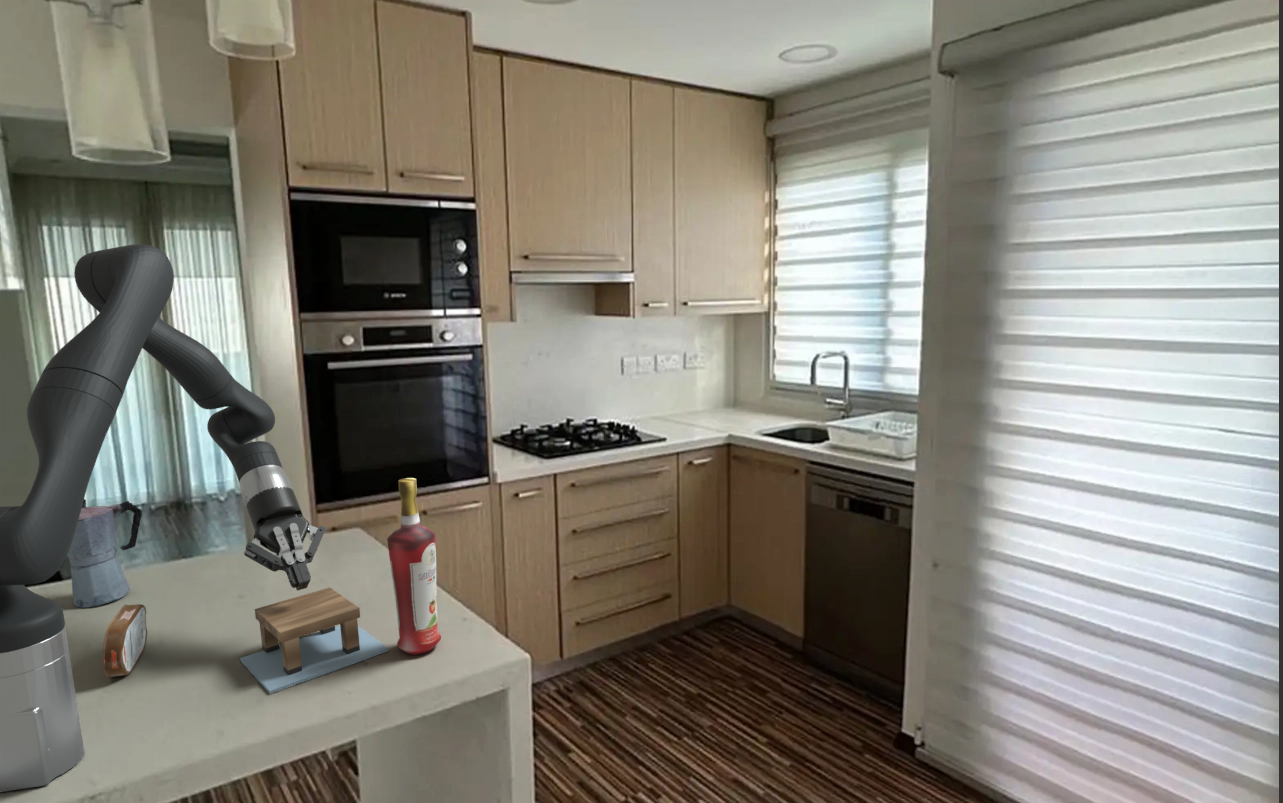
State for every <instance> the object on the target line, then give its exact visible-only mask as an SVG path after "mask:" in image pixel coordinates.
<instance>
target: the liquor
mask: <svg viewBox="0 0 1283 803" xmlns="http://www.w3.org/2000/svg"><path fill="white" fill-rule="evenodd" d="M417 486H418V485H417V478H414V477H406V478H401V479H399V480H398V492H399V496H400V501H401V504H400V528H398V529H396V530H394V531H393V532H392V533H391V534H389V535H388V537H387V539H386V540H387V549H388V556H389V564H390V566H389V567H390V572H391V578H392V586H393V592H394V600H395V609H396V616H397V617H396V618H397V624H398V635H399V638H398V640H397V642H396V645H397V647H398V648H399V649H400V650H402V651H403V652H405V653H407V654H408V655H410V656H411V655H415V656H417V655H423V654H426V653H429V652H430V651H432V650H433V649H434V648H435V647H436V646H437V645H438V644H439V643H440V641H442V635H441V634H440V632H439V628H438V604H437V603H438V602H437V600H438V599H437V597H438V596H437V550H436V548H437V546H436V544H437V542H436V537H437V536H436V532H435V531H434V530H433V529H431V528H429V527H428V526H424V525H421V520H420V516H419V515H420V514H419V509H418V504H417V492H418V491H417V490H418V488H417Z"/></svg>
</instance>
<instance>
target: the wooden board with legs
mask: <svg viewBox="0 0 1283 803" xmlns="http://www.w3.org/2000/svg"><path fill="white" fill-rule="evenodd" d="M254 617H255V619H256V621H257V622H259V629H260V630H259V631H260V637H261V638H260V639H261V648H262V651H265V652H266V653H269V652H272V651H275V650H278V649H280V647H279V645H281V649H282V658H283V668H284V671H285V673H286V674H287V675H291V674H294V673H297V672H300V671H302V664H301V654H300V645H299V639H300V638H302V637H305V636H308V635H312V634H315V633H318V632H321V633H322V634H326V633H329V632H332V631H335V627H336V626H340V628H341V639H342V650H343V651H344V652H345V653H346V654H350V653H353V652H356V651H359V650H360V645H359V633H358V626H359V625H358V624H359V622H358V619H360V618H361V609H360V607H359V606H358V605H356V604H355V603H353V602H352V601H351V600H349V599H347V598H346V597H344V596H343V595H342V594H341V593H339V592H337V591H336V590H335V589H334V588H332V587H326V588H323V589H320V590H316V591H313V592H309V593H306V594H301V595H299V596H296V597H295V596H294V597H292V598H289V599H286V600H281V601H278V602H275V603H272V604H268V605H264V606H261V607H258V608H254Z"/></svg>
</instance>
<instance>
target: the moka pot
mask: <svg viewBox="0 0 1283 803" xmlns="http://www.w3.org/2000/svg"><path fill="white" fill-rule="evenodd" d="M127 511H131V512H133V516H132V523H131V532H130V535H131V536H130V538H129V541H128V543H127V544H123V545H121V546H120V547H119V548H120V549H121V551H126V550H129V549H133V548H135V547H136V543H137V539H138V533H139V529H140V524H141V520H142V517H143V516H142V515H143V513H142V512H143V511H142V509H141V508H139V507H138V506H137V505H134V504H133V503H132V502H130V501H129V500H127V501H124V502H121V503H117V504H112V505H109V506H108V505H97V506H96V505H95V506H87V500H86V499H85V498H84V501H83V505H82V508H81V512H80V516H79V520H78V523H77V527H76V530H75V534H74V537H73V541H72V544H71V547H70V549H69V552H68V554H67V556H66V558H68V560H69V564H70V565H71V568H70V570H69V571H70V575H71V588H72V589H71V590H72V602H73V603H72V605H73V606H74V607H76V608H83V609H85V608H92V607H98V606H99V607H100V606H102V605H105V604H109V603H112V602H115V601H117V600H119V599H121V598H124V597H125V596H127V595H128V594H129V592H130V590H131V589H130V586H129V584H128V580H127V578H126V575H125V573H124V570H123V568H122V565H121V562H120V561H119V558H118V556H117V551H118V548H117V547H116V545H117V532H116V531H117V529H116V527H117V526H116V515H120V514H124V513H126V512H127Z"/></svg>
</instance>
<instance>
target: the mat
mask: <svg viewBox="0 0 1283 803" xmlns="http://www.w3.org/2000/svg"><path fill="white" fill-rule="evenodd" d="M358 633H359V645H360V650H359V651H356V652H353V653H350V654H346V653H345V652H344V651H343V650H342V639H341V628H340V625H336V626H335V631H332V632H329V633H326V634H322V633H321V632H320V631H318V632H315V633H312V634H309V635H306V636H303V637H300V638H299V645H300V654H301V664H302V671H300V672H297V673H294V674H291V675H287V674H286V673H285V671H284V668H283V658H282V649H281V644H279V647H280V649H278V650H275V651H272V652H269V653H266V652H265V651H264V650H261V651H258V652H254V653H253V654H249V655H247V656H243V657H240V663H242V665H244V667H245V666H246V667H245V668H246V669H247V668H248V669H247V670H248V671H249V673H251V675H252V676H253V675H254V676H255V677H254V676H253V677H254V678H255V679H256V680H257V682H259V684H260V685H261V684H262V685H263V686H264V687H263V686H262V685H261V686H262V687H263V688H264V689H265V691H266V692H267V693H268V694H269V693H272V694H274V693H273V692H275V693H277V692H276V691H278V692H280V691H279V690H281V691H283V690H285V689H284V688H286V689H288V688H287V687H289V686H291V687H293V686H292V685H294V686H297V685H299V684H298V683H300V684H302V683H304V681H305V682H308V681H310V680H313V679H316V678H319V677H321V676H324V675H326V674H329V673H332V672H335V671H337V670H340V669H344V668H346V667H348V666H351V665H354V664H357V663H359V662H362V661H365V660H368V659H370V658H372V657H373V658H374V657H376V656H378V655H381V654H384V653H386V652H389V647H388V646H386V645H384V643H382V642H381V641H379V640H378V639H377V638H376V637H374V636H372V635H371V634H370V633H368V631H366V630H364V629H363V628H362V627H360V626H359V625H358ZM307 680H308V681H307ZM301 682H302V683H301ZM296 684H297V685H296ZM289 688H290V687H289ZM282 689H283V690H282Z"/></svg>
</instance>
